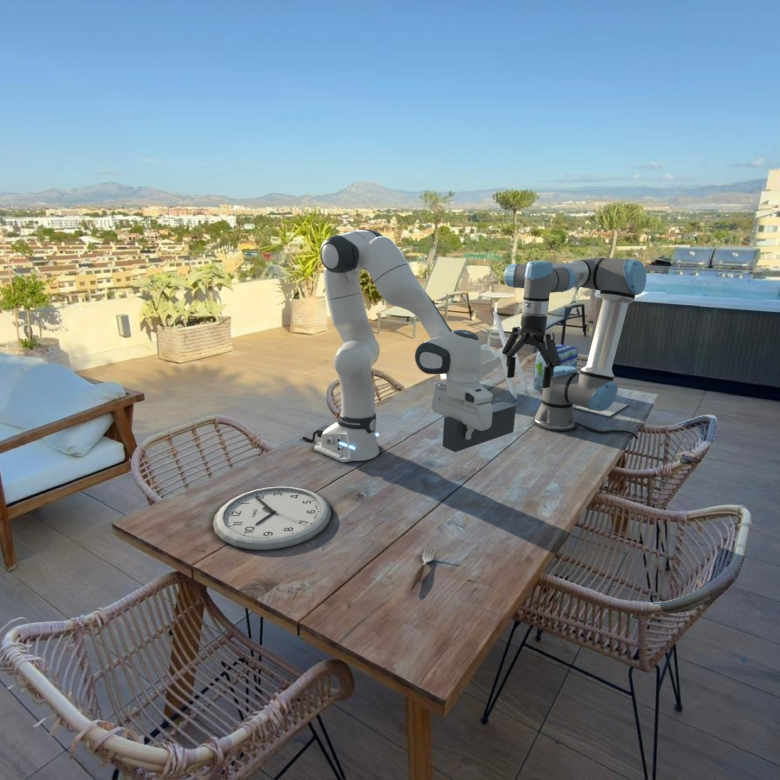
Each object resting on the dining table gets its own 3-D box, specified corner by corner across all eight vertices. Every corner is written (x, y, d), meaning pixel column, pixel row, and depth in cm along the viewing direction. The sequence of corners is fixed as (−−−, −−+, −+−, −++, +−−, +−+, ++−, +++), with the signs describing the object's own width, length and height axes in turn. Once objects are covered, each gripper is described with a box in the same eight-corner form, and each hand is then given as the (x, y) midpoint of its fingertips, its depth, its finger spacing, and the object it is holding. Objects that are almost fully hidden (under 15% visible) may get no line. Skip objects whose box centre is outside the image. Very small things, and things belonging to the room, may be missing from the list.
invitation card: (608, 416, 214) (573, 407, 224) (608, 416, 214) (573, 408, 224) (628, 404, 229) (594, 396, 238) (628, 405, 229) (594, 397, 238)
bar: (500, 427, 165) (503, 401, 162) (513, 432, 161) (516, 405, 159) (442, 446, 150) (444, 417, 147) (455, 452, 146) (457, 423, 143)
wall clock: (329, 541, 123) (198, 546, 121) (329, 547, 124) (199, 552, 121) (332, 482, 152) (226, 484, 149) (332, 487, 152) (226, 489, 150)
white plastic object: (461, 429, 252) (437, 405, 227) (444, 352, 274) (420, 323, 250) (535, 404, 240) (518, 377, 215) (510, 326, 262) (492, 293, 237)
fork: (405, 590, 110) (405, 582, 109) (426, 549, 124) (426, 541, 123) (417, 593, 109) (417, 585, 108) (437, 551, 123) (437, 544, 122)
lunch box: (550, 397, 237) (555, 352, 231) (529, 391, 245) (533, 348, 238) (577, 386, 255) (582, 344, 249) (556, 381, 262) (561, 340, 256)
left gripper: (428, 381, 151) (426, 426, 155) (481, 400, 136) (477, 449, 140) (443, 378, 154) (441, 422, 159) (497, 396, 139) (493, 444, 143)
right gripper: (494, 309, 164) (489, 375, 170) (563, 321, 145) (554, 394, 151) (509, 308, 168) (504, 371, 174) (578, 319, 149) (569, 389, 156)
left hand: (458, 435), depth 149 cm, fingers closed on bar, 5 cm apart
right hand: (527, 382), depth 163 cm, fingers open, 13 cm apart
